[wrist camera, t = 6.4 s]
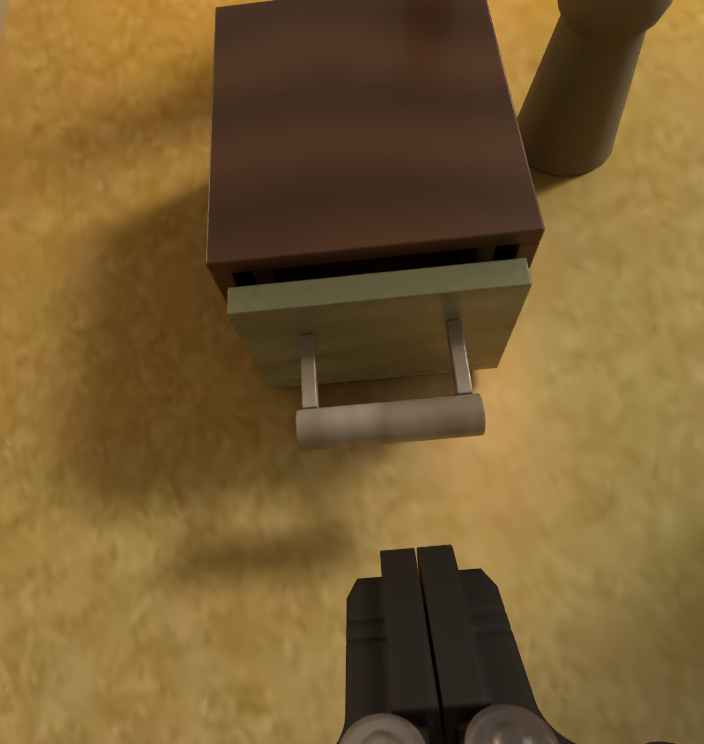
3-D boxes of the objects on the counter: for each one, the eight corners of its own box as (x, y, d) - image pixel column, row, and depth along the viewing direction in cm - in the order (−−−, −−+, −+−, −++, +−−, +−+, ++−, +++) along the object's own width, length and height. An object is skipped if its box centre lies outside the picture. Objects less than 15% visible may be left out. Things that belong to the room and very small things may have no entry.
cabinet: (500, 344, 29) (545, 229, 20) (261, 366, 30) (204, 264, 21) (459, 134, 35) (480, -26, 26) (260, 156, 35) (215, 6, 26)
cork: (615, 105, 35) (705, -100, 25) (612, 181, 33) (709, -10, 22) (516, 97, 36) (564, -105, 26) (506, 170, 33) (555, -19, 23)
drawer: (515, 463, 26) (561, 407, 19) (271, 484, 26) (224, 437, 19) (457, 159, 33) (474, 34, 26) (267, 180, 33) (231, 63, 26)
